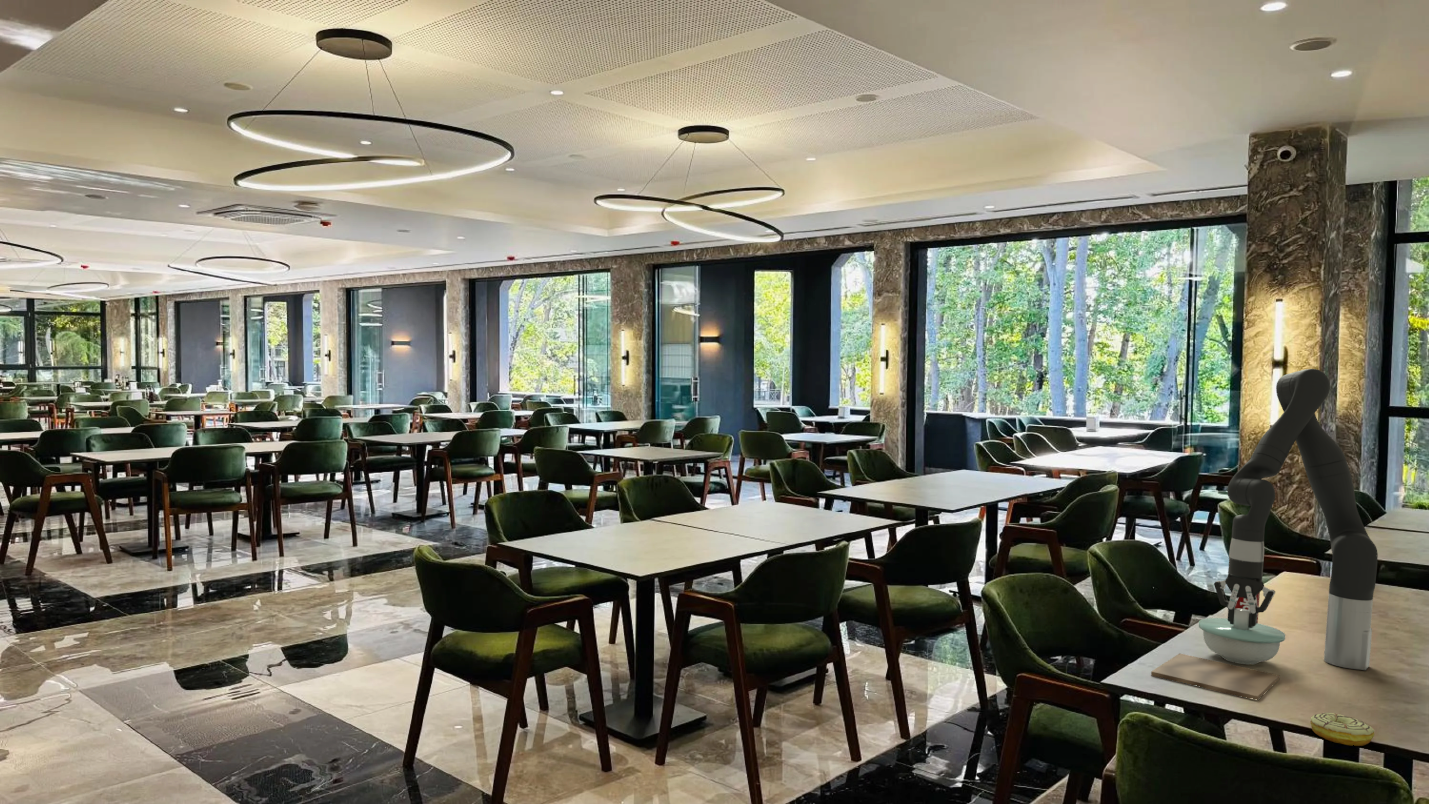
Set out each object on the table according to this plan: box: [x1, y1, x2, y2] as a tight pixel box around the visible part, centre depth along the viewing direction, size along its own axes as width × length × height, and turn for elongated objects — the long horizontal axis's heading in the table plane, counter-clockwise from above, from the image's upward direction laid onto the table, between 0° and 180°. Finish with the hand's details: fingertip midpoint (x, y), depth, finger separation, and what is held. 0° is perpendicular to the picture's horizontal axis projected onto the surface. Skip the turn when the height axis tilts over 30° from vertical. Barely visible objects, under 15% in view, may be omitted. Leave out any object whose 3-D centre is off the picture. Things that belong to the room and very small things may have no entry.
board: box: [1150, 652, 1280, 701], centre depth 224 cm, size 22×22×1 cm
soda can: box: [1235, 592, 1261, 624], centre depth 276 cm, size 7×7×12 cm
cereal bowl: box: [1202, 630, 1281, 665], centre depth 240 cm, size 17×17×7 cm
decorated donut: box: [1310, 712, 1375, 747], centre depth 189 cm, size 10×11×4 cm
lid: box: [1198, 608, 1286, 643], centre depth 240 cm, size 19×19×6 cm
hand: (1241, 625), depth 240 cm, fingers closed on lid, 3 cm apart
